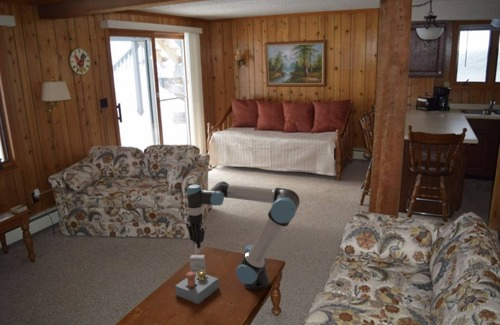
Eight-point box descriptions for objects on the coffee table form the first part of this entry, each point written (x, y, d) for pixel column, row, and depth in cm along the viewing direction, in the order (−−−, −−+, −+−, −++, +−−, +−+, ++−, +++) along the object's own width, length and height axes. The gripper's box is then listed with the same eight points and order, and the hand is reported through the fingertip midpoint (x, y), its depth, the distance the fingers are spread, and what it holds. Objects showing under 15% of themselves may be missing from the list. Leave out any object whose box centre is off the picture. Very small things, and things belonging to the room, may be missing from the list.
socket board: (218, 287, 234) (218, 278, 232) (198, 304, 219) (197, 294, 218) (197, 280, 242) (196, 271, 241) (176, 295, 228) (175, 285, 226)
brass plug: (209, 285, 235) (208, 271, 232) (203, 289, 230) (202, 275, 228) (202, 282, 238) (201, 269, 235) (195, 287, 233) (194, 273, 231)
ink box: (206, 271, 251) (205, 254, 248) (204, 276, 246) (203, 258, 243) (192, 271, 252) (191, 254, 249) (190, 275, 247) (189, 258, 244)
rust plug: (198, 287, 227) (197, 273, 224) (192, 292, 222) (191, 277, 220) (191, 284, 230) (190, 270, 227) (184, 289, 225) (183, 275, 223)
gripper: (209, 213, 220) (210, 253, 226) (191, 208, 227) (193, 247, 234) (199, 218, 214) (201, 258, 220) (181, 212, 221) (184, 252, 228)
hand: (197, 252), depth 227 cm, fingers closed
